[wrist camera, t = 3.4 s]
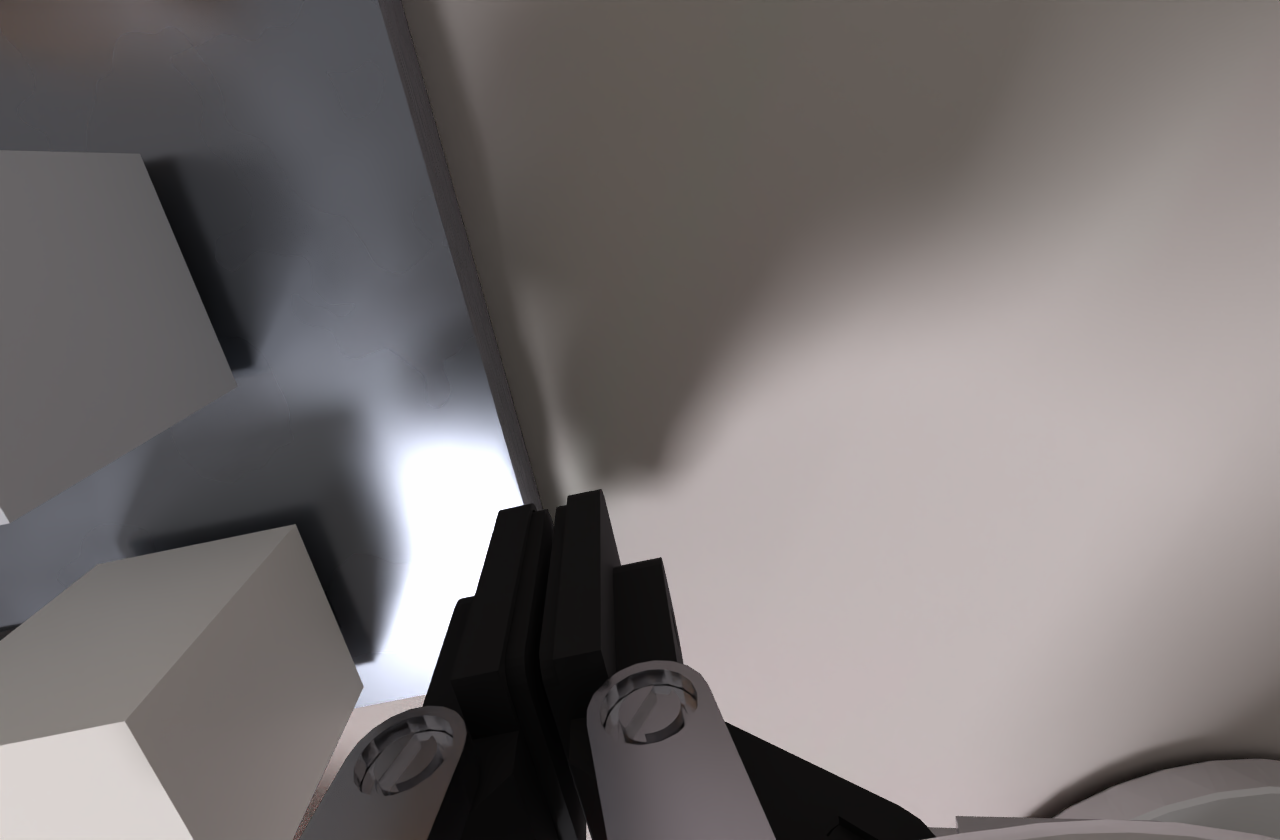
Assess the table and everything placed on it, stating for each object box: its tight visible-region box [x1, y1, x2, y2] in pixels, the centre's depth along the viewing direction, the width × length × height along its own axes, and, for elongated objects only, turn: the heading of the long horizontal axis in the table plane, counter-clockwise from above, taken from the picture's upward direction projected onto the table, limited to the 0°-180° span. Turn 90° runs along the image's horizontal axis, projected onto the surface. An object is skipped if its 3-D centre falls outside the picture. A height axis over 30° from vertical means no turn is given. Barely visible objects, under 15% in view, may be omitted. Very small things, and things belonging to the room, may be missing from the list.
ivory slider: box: [0, 524, 364, 840], centre depth 10 cm, size 4×4×4 cm
